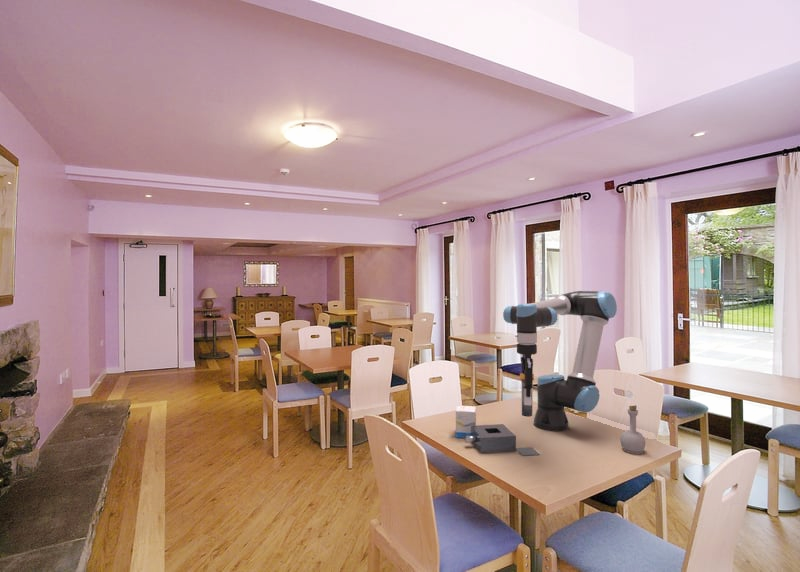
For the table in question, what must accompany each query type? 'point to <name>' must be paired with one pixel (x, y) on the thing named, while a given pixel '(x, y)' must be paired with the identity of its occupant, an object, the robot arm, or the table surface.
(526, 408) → the grey cylinder with cap
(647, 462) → the table surface
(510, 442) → the block
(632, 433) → the potion bottle
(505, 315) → the robot arm
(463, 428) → the ink box
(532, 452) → the mat
